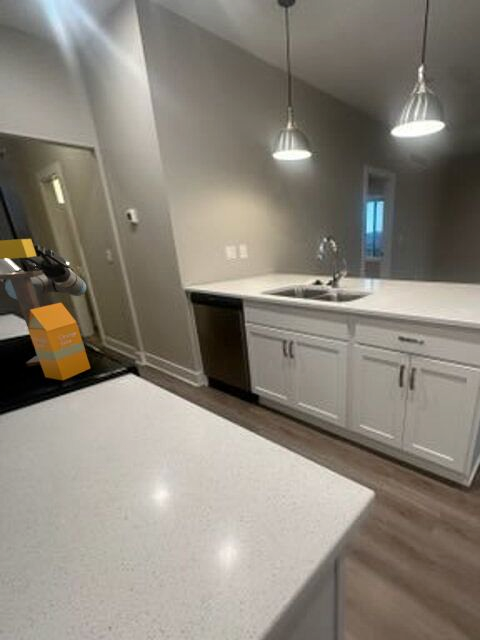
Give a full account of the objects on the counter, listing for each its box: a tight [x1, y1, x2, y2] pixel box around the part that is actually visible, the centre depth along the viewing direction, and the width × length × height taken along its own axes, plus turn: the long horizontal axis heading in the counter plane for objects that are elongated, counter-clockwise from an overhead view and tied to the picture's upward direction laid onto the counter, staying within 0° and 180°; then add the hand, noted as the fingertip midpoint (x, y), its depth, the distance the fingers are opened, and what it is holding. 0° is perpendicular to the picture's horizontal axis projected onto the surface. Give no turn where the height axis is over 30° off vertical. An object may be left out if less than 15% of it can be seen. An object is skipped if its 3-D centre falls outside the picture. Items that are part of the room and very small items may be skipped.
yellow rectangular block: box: [0, 238, 37, 260], centre depth 106 cm, size 7×14×5 cm, turn 14°
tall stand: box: [0, 270, 43, 367], centre depth 106 cm, size 10×6×28 cm, turn 104°
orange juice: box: [27, 302, 91, 381], centre depth 97 cm, size 8×9×20 cm
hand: (21, 243), depth 105 cm, fingers closed on yellow rectangular block, 2 cm apart
